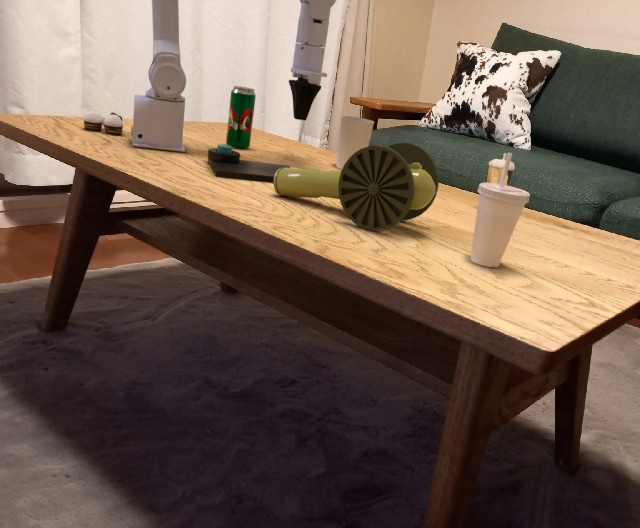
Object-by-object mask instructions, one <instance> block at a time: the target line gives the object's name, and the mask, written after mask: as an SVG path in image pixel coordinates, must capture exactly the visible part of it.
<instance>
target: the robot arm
mask: <svg viewBox="0 0 640 528" xmlns="http://www.w3.org/2000/svg"><path fill="white" fill-rule="evenodd" d="M299 2H300V12H299V17H298V22H297V28H296V29H297V30H296V37H295V45H294V52H293V59H292V66H291V68H290V73H292V74H291V77H292V78H296V79H288V84H289V87H290V91H291V97H292V112H293V118H294V119H295V120H296V121H297V120H299V121H307V119H308V117H309V114H310V110H311V108H312V105H313V103H314V101H315V99H316V97H317V96H318V94H319V92H320V91H321V90H322V85H321V82H322V77H323V78H328V73H326V72H323V66H324V65H323V64H324V59H325V52H326V45H327V40H328V33H329V25H330V16H331V10H332V8H333V6H334V5H335V4H336V2H337V0H299ZM179 11H180V9H179V0H151V14H152V15H151V16H152V18H151V19H152V62H151V63H150V66H149V68H148V71H147V72H148V73H147V74H148V75H147V77H148V80H149V83H150V86H151V87H150V88H149V89H148V90H146V91H145V94H144V95H142V94H134V96H133V97H134V98H133V116H132V120H133V121H132V125H131V126H130V136H131V139H132V146H133V147H136V148H145V149H153V150H164V151H171V152H181V153H185V152H186V148H185V145H184V143H183V137H184V123H185V122H184V121H185V109H186V97H184V96H183V95H182V93H183V92H184V91H185V89H186V86H187V76H186V73H185V71H184V69H183V67H182V62H181V49H180V15H179V13H180V12H179Z"/></svg>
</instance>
